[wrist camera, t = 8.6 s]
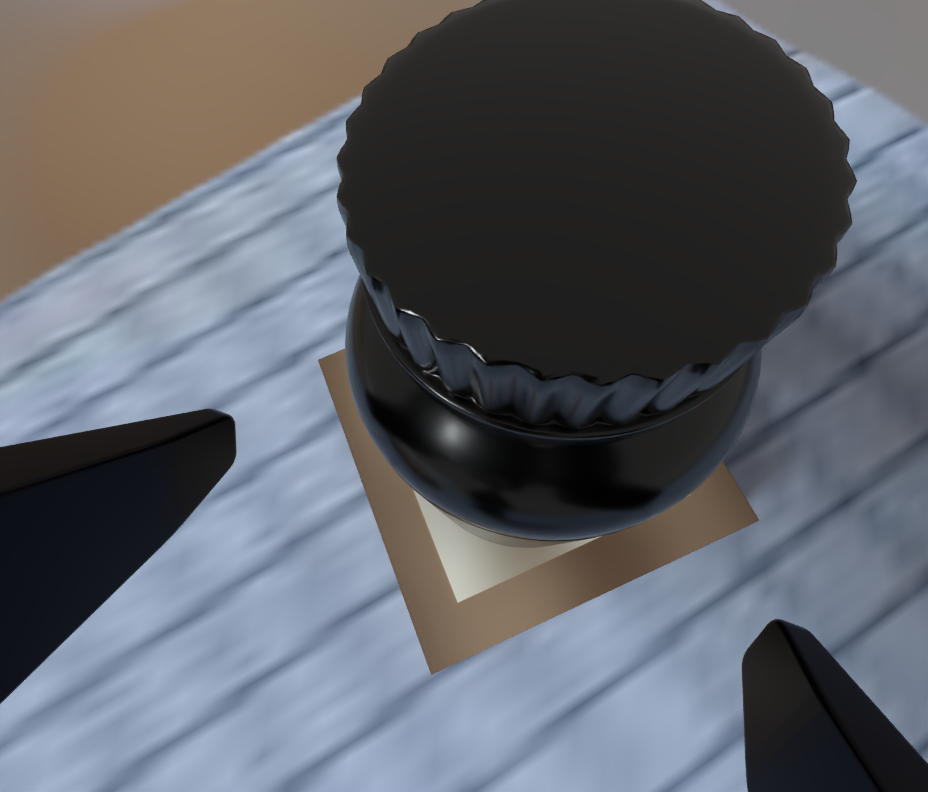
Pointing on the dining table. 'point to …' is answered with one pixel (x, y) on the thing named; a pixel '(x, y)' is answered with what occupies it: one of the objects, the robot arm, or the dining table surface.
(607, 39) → the supplement bottle
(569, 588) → the plate
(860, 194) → the dining table surface
